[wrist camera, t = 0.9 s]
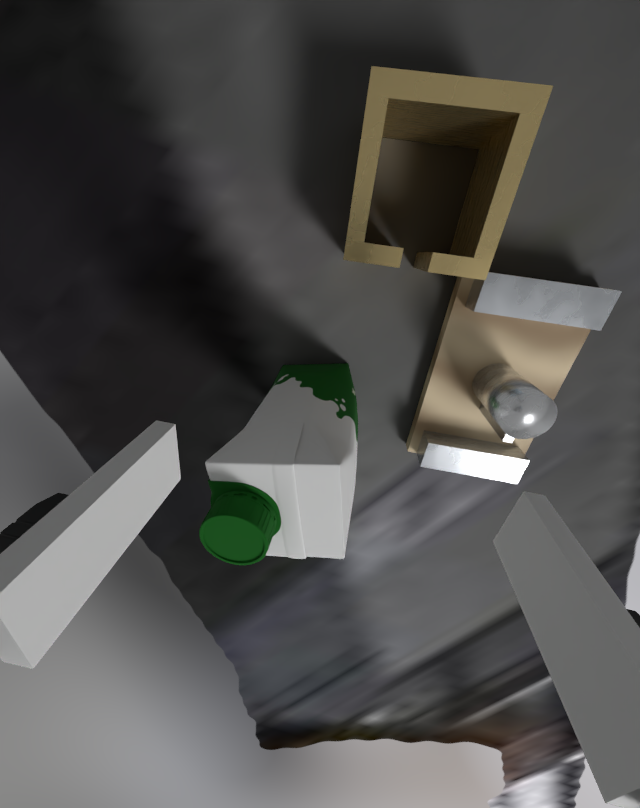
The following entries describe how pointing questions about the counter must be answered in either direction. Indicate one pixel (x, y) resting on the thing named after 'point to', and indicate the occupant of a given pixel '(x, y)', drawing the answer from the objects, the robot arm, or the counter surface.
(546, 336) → the bench plate
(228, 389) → the counter surface
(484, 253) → the gold square frame
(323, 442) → the milk carton
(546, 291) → the grey metal piece
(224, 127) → the counter surface
